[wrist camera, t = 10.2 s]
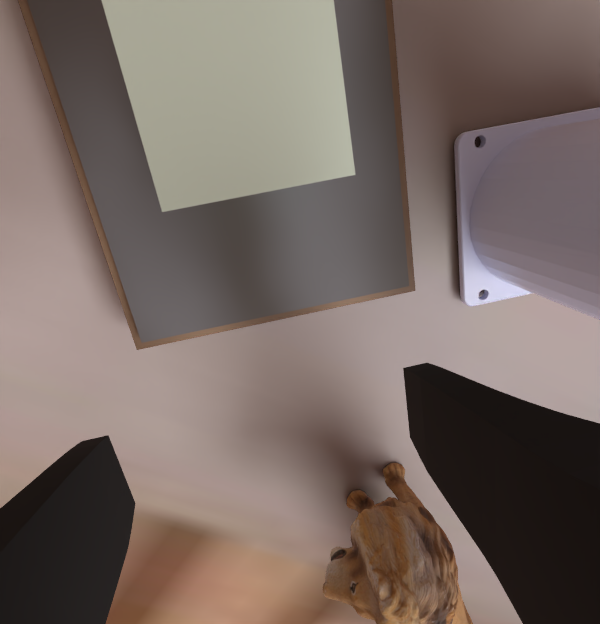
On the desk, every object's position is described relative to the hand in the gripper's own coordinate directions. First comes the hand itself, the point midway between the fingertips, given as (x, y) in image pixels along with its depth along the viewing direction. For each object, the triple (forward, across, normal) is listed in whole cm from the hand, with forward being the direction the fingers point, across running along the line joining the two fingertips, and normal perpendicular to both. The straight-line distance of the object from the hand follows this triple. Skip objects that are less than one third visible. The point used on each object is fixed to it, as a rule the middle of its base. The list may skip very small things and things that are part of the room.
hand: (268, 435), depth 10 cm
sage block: (+7, -1, -8) cm, 11 cm away
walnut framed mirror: (+10, -1, -8) cm, 13 cm away
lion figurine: (+10, -5, +15) cm, 19 cm away
